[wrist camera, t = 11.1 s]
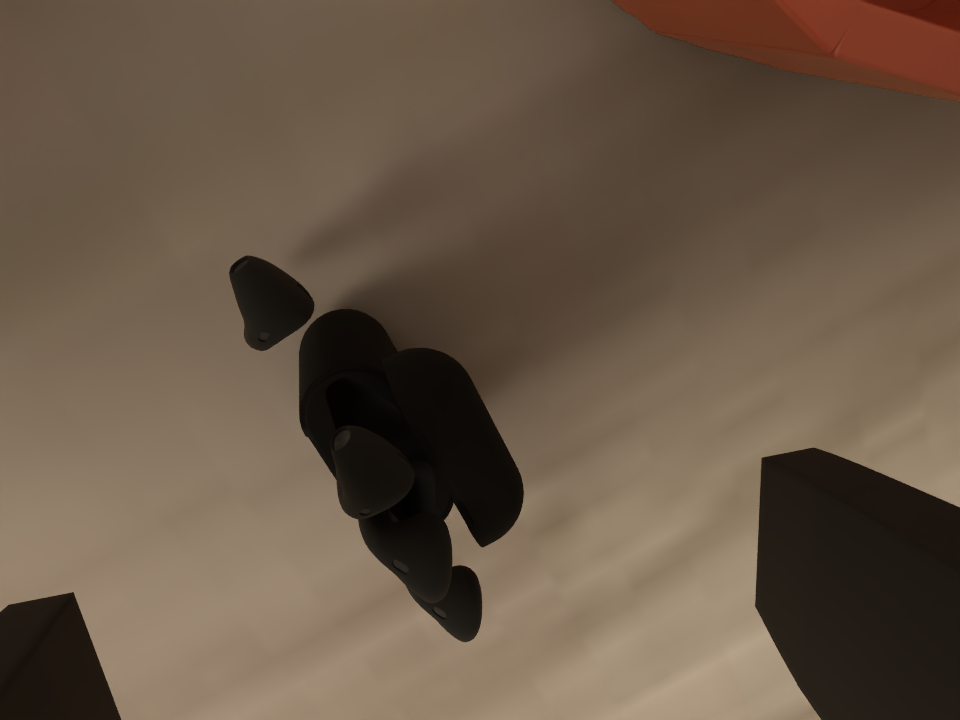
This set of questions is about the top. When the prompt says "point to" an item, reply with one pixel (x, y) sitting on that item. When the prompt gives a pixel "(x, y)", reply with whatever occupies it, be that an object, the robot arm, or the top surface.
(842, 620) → the robot arm
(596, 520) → the top surface
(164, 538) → the top surface
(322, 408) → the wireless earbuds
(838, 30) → the pan
